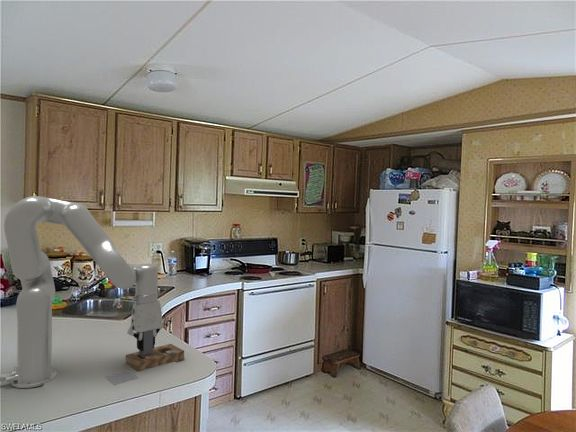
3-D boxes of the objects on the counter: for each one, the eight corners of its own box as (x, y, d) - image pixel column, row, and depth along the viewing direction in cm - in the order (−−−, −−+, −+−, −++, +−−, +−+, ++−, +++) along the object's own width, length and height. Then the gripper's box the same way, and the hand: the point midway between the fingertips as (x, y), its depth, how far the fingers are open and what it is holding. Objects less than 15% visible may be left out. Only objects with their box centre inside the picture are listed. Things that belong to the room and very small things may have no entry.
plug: (143, 358, 143) (143, 328, 142) (139, 355, 145) (139, 326, 145) (152, 356, 145) (153, 326, 145) (148, 353, 148) (148, 324, 147)
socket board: (137, 373, 138) (138, 361, 138) (125, 364, 145) (125, 353, 145) (184, 359, 151) (184, 349, 151) (170, 352, 158) (170, 342, 158)
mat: (114, 386, 128) (114, 385, 128) (104, 378, 133) (104, 376, 133) (138, 379, 133) (138, 377, 133) (128, 372, 139) (128, 370, 139)
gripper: (128, 304, 136) (127, 357, 137) (172, 296, 148) (172, 346, 149) (119, 300, 141) (118, 351, 142) (162, 293, 153) (162, 340, 154)
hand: (146, 348), depth 145 cm, fingers closed on plug, 3 cm apart
